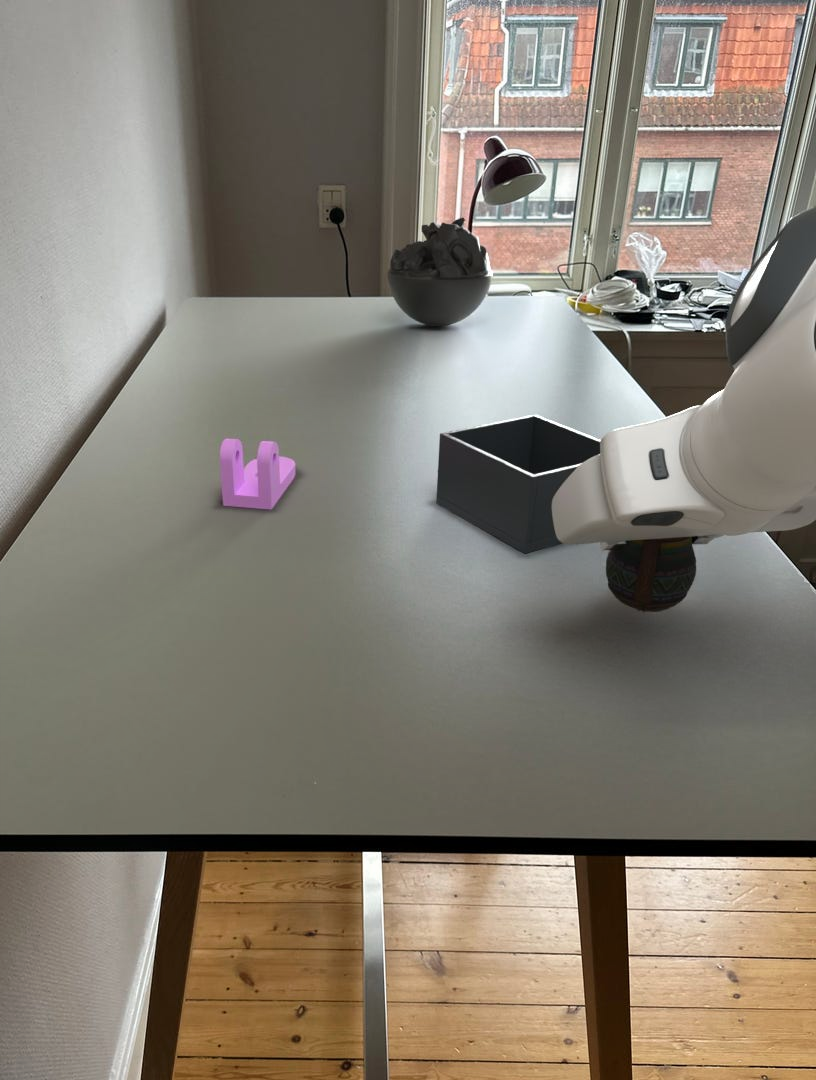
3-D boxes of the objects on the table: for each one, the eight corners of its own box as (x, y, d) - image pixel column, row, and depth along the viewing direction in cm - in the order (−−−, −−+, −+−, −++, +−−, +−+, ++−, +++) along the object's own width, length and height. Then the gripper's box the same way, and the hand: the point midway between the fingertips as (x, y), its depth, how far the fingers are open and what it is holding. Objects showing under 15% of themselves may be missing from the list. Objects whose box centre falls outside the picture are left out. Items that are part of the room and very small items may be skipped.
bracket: (271, 509, 101) (268, 448, 97) (223, 505, 102) (218, 445, 98) (300, 468, 112) (299, 412, 108) (256, 465, 113) (253, 409, 109)
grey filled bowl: (421, 341, 168) (425, 229, 159) (367, 320, 184) (369, 218, 174) (509, 329, 176) (519, 222, 167) (451, 310, 191) (457, 212, 182)
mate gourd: (686, 627, 74) (711, 512, 69) (591, 611, 76) (607, 499, 71) (692, 588, 80) (715, 479, 74) (603, 575, 82) (619, 468, 77)
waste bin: (528, 481, 108) (535, 414, 104) (622, 526, 96) (634, 453, 92) (435, 503, 102) (439, 433, 98) (524, 554, 91) (532, 477, 87)
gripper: (866, 417, 64) (762, 496, 77) (583, 432, 62) (527, 510, 76) (887, 501, 63) (778, 566, 76) (598, 519, 61) (538, 583, 74)
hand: (651, 538), depth 76 cm, fingers closed on mate gourd, 6 cm apart
